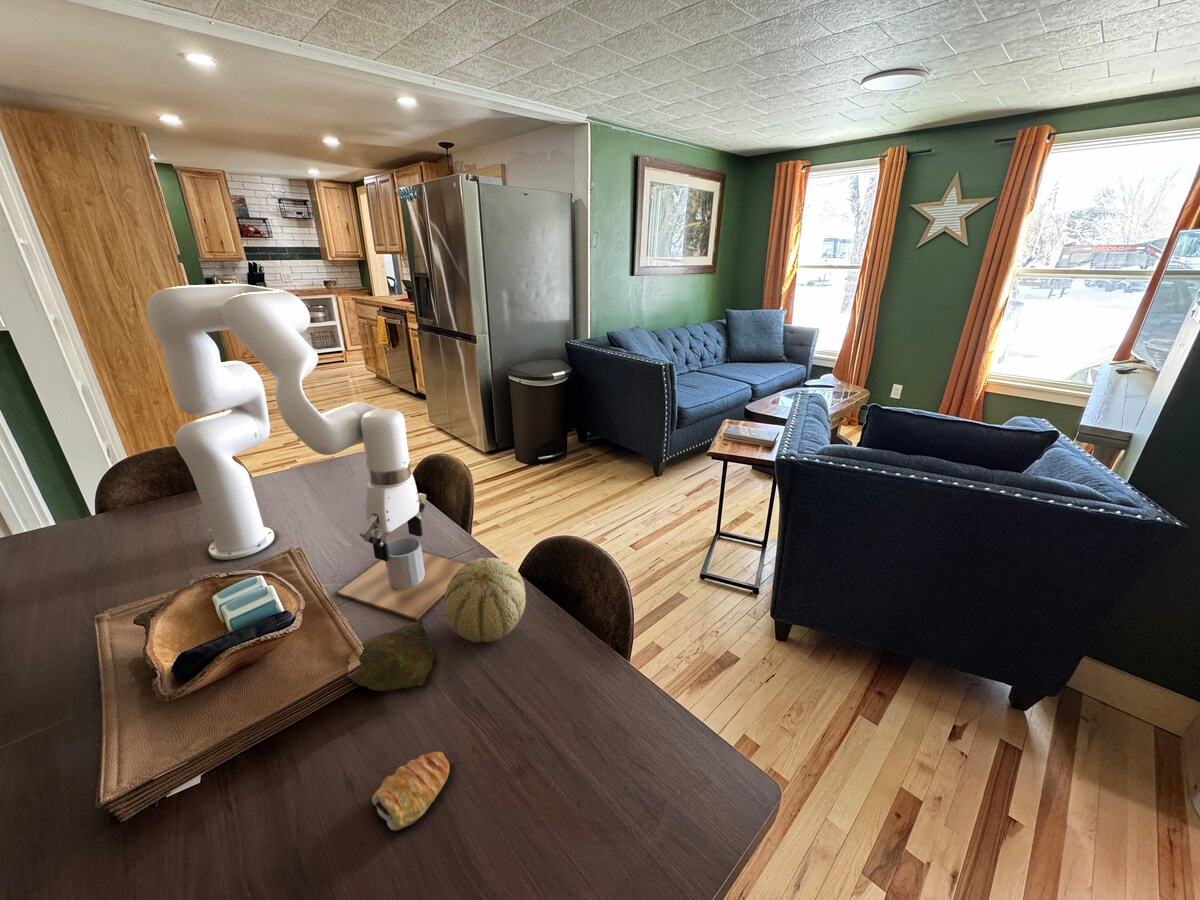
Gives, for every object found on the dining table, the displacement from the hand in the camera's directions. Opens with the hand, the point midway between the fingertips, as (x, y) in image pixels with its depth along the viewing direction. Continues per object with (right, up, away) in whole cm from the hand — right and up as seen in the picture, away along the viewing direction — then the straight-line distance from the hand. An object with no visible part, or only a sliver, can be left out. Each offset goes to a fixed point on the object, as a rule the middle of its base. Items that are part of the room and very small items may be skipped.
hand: (399, 546), depth 99 cm
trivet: (0, -8, +3) cm, 9 cm away
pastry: (+17, -25, -37) cm, 48 cm away
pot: (0, -7, +3) cm, 8 cm away
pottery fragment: (+6, -16, -17) cm, 24 cm away
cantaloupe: (+21, -14, -10) cm, 27 cm away
